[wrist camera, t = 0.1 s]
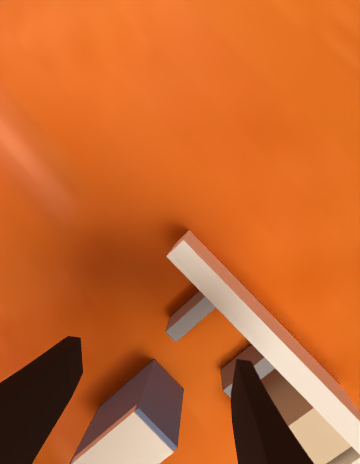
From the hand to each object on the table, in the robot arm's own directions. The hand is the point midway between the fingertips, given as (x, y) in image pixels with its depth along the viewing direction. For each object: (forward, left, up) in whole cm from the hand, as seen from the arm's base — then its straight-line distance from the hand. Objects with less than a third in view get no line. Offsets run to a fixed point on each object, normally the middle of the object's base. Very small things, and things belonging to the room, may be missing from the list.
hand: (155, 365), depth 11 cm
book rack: (-1, -6, -11) cm, 12 cm away
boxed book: (-11, -5, -11) cm, 16 cm away
